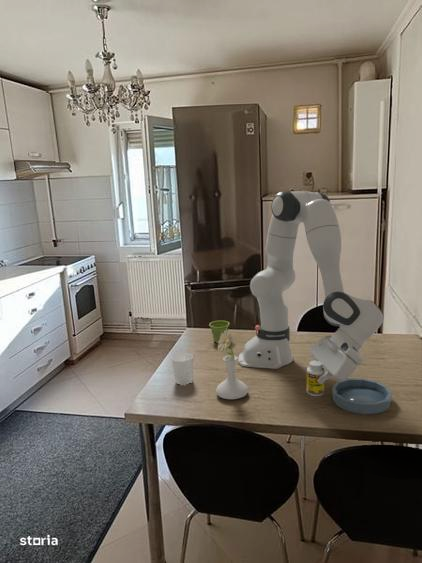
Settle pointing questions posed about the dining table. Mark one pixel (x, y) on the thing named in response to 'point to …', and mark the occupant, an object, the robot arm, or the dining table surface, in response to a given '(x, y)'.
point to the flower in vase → (230, 372)
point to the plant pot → (218, 329)
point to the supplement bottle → (312, 374)
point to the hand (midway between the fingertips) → (313, 377)
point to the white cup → (183, 368)
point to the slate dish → (361, 396)
